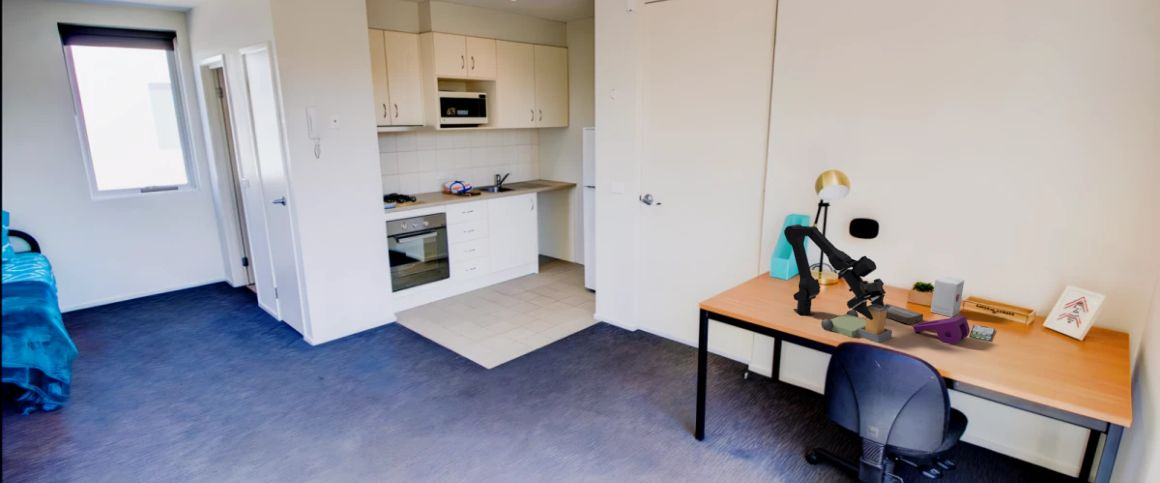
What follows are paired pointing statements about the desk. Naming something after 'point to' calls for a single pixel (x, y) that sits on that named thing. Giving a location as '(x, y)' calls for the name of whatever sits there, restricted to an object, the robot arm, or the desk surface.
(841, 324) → the green slab with frame
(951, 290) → the supplement box
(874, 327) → the tan rectangular column
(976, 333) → the mottled grey green block
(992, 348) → the desk surface
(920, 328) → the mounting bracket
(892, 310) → the box
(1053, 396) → the desk surface
